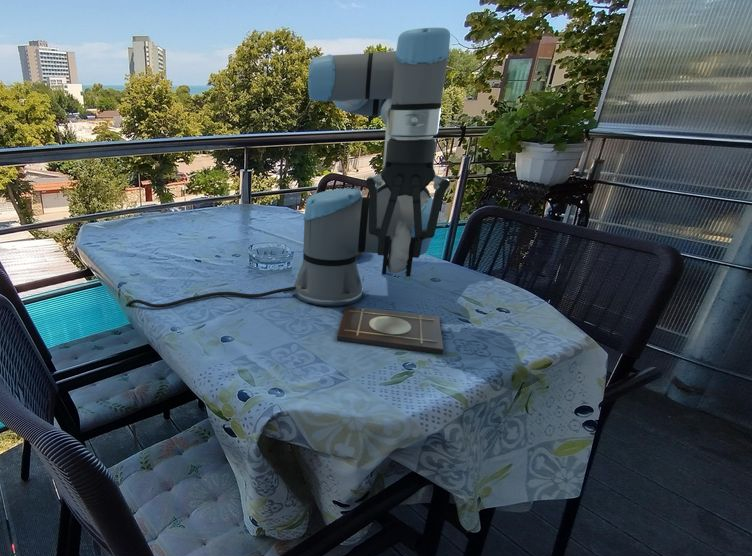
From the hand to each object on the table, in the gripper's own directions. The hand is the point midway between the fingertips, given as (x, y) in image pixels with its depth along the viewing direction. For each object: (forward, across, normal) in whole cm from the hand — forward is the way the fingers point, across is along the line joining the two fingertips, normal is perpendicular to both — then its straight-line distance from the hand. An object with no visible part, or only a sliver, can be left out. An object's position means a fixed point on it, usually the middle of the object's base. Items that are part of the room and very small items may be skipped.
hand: (396, 272), depth 85 cm
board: (+12, 0, 0) cm, 12 cm away
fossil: (0, 0, 0) cm, 0 cm away
